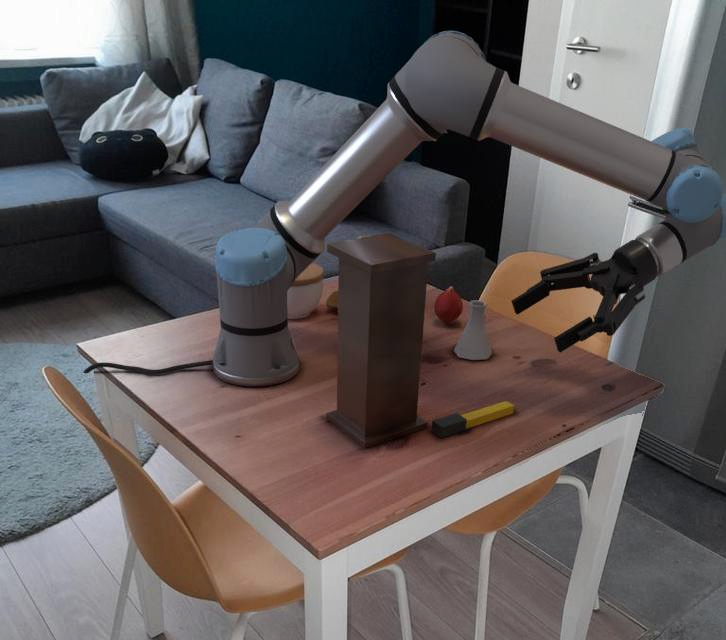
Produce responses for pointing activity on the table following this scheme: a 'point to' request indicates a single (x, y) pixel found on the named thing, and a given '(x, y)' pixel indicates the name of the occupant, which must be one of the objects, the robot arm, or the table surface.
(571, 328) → the robot arm
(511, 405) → the highlighter
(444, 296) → the pomegranate
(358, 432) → the pedestal stand
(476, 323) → the flask
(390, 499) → the table surface
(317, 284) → the lidded bowl
